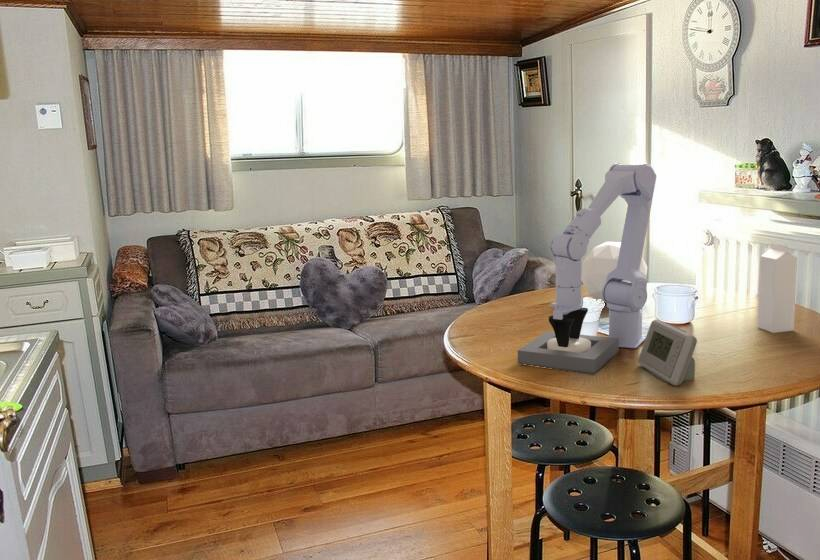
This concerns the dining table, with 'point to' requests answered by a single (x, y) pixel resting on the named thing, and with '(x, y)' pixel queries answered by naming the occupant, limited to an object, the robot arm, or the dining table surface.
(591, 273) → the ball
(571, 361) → the button housing
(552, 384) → the dining table surface
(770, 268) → the milk
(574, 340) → the button cap
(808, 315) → the dining table surface
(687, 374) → the digital clock
